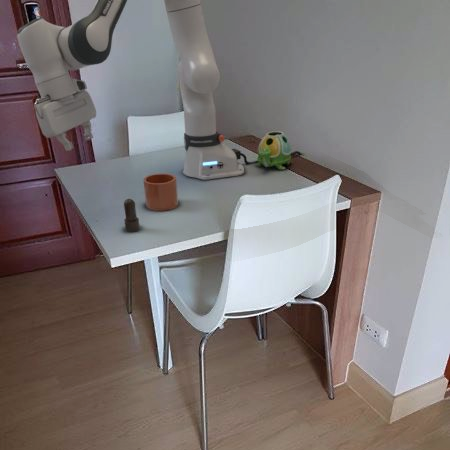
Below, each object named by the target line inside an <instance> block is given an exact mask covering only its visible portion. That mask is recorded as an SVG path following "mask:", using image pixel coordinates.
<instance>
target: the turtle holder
mask: <svg viewBox="0 0 450 450" xmlns="http://www.w3.org/2000/svg"><path fill="white" fill-rule="evenodd" d="M291 153H292V147H291V143H290V141H289V138H288V136H286V134H285V133H284V132H282V131H279V130H278V131H277V130H275V131H274V130H272V131H269V132H267V133H265V135H264V137H262V138H261V140H260V142H259V144H258V147H257V158H256V159H257V160H256V161H258V163H256V165H257V167H259V168H261V167H262V166H263V167H265V168H269V167H274V166H275V167H276V169H277V170H279V171H283V170H286V167H285V166H283V165H286V166H288V165H290V164H291V158H292V156H290V155H291Z"/></svg>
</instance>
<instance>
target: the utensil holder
mask: <svg viewBox="0 0 450 450" xmlns="http://www.w3.org/2000/svg"><path fill="white" fill-rule="evenodd" d="M143 190H144V200H145V206H146V208H147V209H148V210H151V211H154V212H155V211H156V212H165V211H170V210H173V209H175V208H177V207H178V205H179V199H178V184H177V176H175V175H174V174H171V173H153V174H149V175H147V176H145V177H143Z"/></svg>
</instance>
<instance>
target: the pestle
mask: <svg viewBox="0 0 450 450" xmlns="http://www.w3.org/2000/svg"><path fill="white" fill-rule="evenodd" d="M123 208H124V216H125V218H124V228H125V231H126V232H128V233H134V232H138V231H139V230H140V229H141V227H140V219H139V217H138V216H137V210H136V209H137V207H136V202H135V201H134V199H132V198H126V199H125V200H124V202H123Z"/></svg>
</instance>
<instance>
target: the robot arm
mask: <svg viewBox="0 0 450 450" xmlns="http://www.w3.org/2000/svg"><path fill="white" fill-rule="evenodd" d="M127 2H128V0H96V1H95V3H94V5H93V6H92V9H91V11H90V13H89V14H88V15H87V16H84V17H82V18H81V19H79V20H77V21H76V22H74V23H73V24H71V25H69V26H67V27H66V26H61V25H57V24H53V23H51V22H48V21H46V20H45V19H44V18H43V17H38V18H35V19H33V20H31V21H29V22H28V23H26V24H24V25H22V26H20V27H19V29H18V30H17V33H16V38H17V42H18V46H19V48H20V52H21V54H22V57H23V59H24V61H25V64H26V66H27V68H28V69H29V70H30V72H31V73H32V75H33V79H34V83H35V84H34V85H35V86H36V88H37V91H38V93H39V95H40V97H38V98H35V102H34V105H33V108H34V110H35V116H36V120H37V122H38V125H39V128H40V130H41V133H42V135H43V136H44V137H45V138H47V139H50V138H54V137H55V138H56V140H57V141H58V142H59V143H60V144H61V145H62V146H63V147H64V150H65V151H66V152H68V151H72V150H73V149H74V148H75V146H74V145H73V142H72V141H70V140H69V139H68V138H67V134H66V132H68V131H70V130H71V129H74V128H76V127H78V126H80V125H81V127H82V128H83V131H84V133H83V137H84V139H85V141H90V140H92V139H94V135H93V133H92V122H91V120H93V119H95V118H97V110H96V107H95V104H94V101H93V99H92V97H91V94H90V92H88V91H87V89H88V86H87V83H86V82H85V80H81V79H76V78H73V77H71V75H70V71H78V70H81V69H84V68H87V67H90V66H94V65H101V64H102V63H104V62H105V61H106V60H108V58H109V56H110V54H111V51H112V44H113V35H114V31H115V29H116V26H117V23H118V22H119V19H120V18H121V15H122V13H123V11H124V9H125V6H126V5H127ZM164 7H165V10H166V11H165V12H166V17H167V19H168V23H169V28H170V32H171V37H172V41H173V43H174V45H175V48H176V51H177V54H178V57H179V62H178V65H177V75H178V82H179V90H180V96H181V102H182V108H183V120H184V133H183V146H184V150H185V156H184V157H185V158H184V166H183V171H182V173H183V174H184V175H185V176H187V177H191V178H196V179H199V180H202V181H207V180H214V179H222V178H223V179H224V178H227V177H228V178H231V177H237V176H242V175H243V174H244V173H245V168H244V166H243V165H242V163H239V162H238V160H241V157H243V161H244V163H245V164H246V165H252V164H258V163H259V162H258V160H255V161H251V162H249V161H248V160H247V155H246V154H244V153H242V151H241V150H238V149H237V148H231V147H229V146H227V145H226V144H225V143H224V141H225V136H224V135H223V134H222V133H220V131H217V115H216V113H217V111H216V105H215V102H214V97H213V92H214V91H215V90H216V89H217V88H218V87H219V84H220V81H221V74H220V70H219V67H218V65H217V61H216V58H215V54H214V51H213V48H212V44H211V42H210V39H209V35H208V31H207V26H206V22H205V16H204V12H203V7H202V3H201V0H164ZM296 154H297V155H298V156H301V155H302V153H301V152H300V151H298V150H295V151H293V152H291V155H290V156H291V157H293V156H294V155H296Z"/></svg>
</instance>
